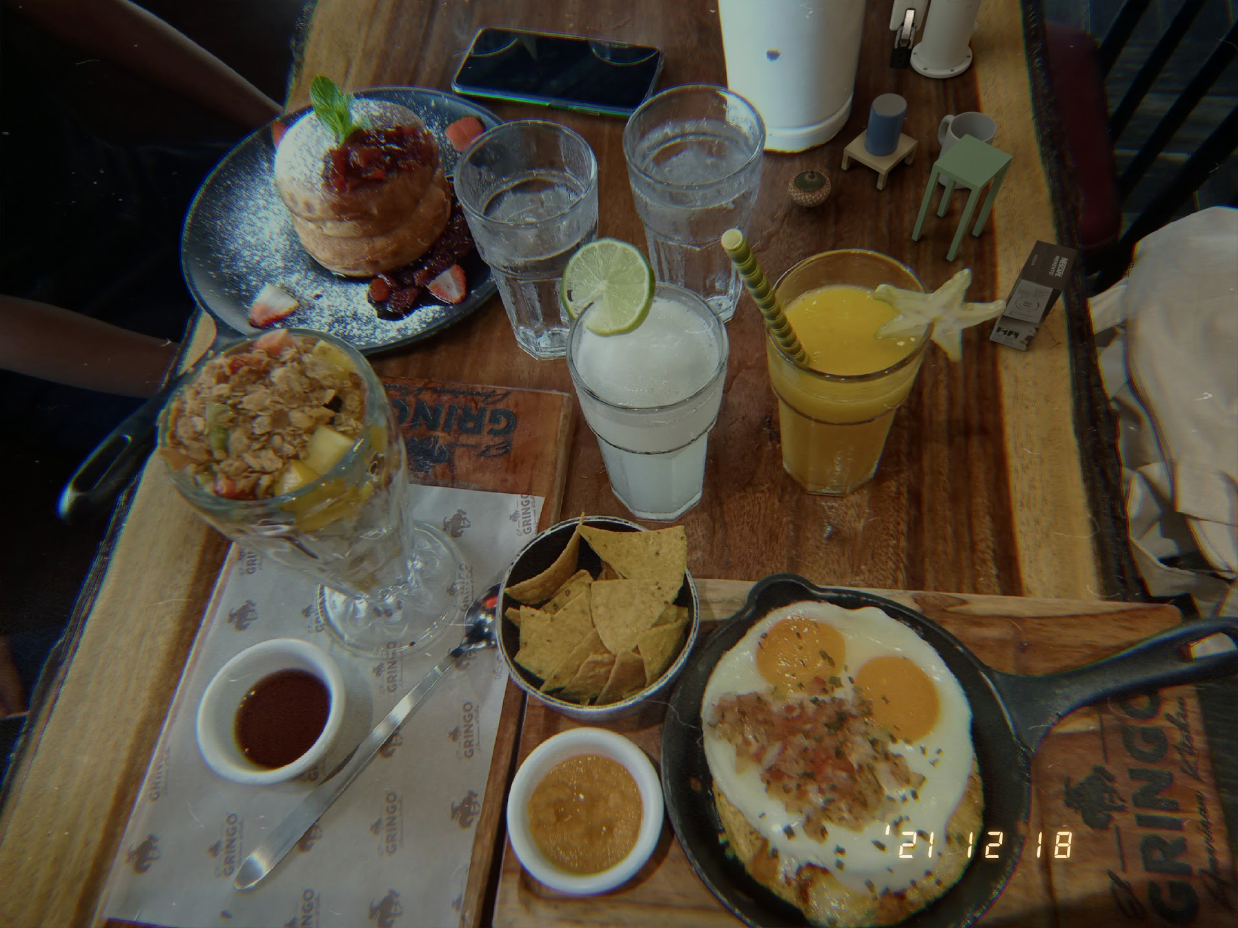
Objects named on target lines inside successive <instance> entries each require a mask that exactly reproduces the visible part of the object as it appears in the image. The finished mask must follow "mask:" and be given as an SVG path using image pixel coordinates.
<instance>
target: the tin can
mask: <svg viewBox="0 0 1238 928" xmlns="http://www.w3.org/2000/svg"><path fill="white" fill-rule="evenodd" d="M907 109H908V103H907V100H906V99H905V98H904V96H901V95H900V94H896V93H884V94H881V95H878V96H877V97H876V98H874V99H873V100H872V103H871V106H870V112H869V117H868V123H867V127H866V129H867V132H866V137H865V142H864V147H865V149H866V151H867V152H868V153H870V154H872V155H875V156H887V155H890V154H892V153H893V152H894V151H895V150H896V149H897V147H898V143H899V139H900V135H901V133H902V130H903V127H904V122H905V118H906V113H907Z"/></svg>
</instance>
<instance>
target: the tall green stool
mask: <svg viewBox="0 0 1238 928" xmlns="http://www.w3.org/2000/svg"><path fill="white" fill-rule="evenodd" d="M1013 158H1014V156H1013V155H1012V154H1009V153H1007V152H1005V151H1004V150H1001V149H999V148H997V147H996V146H993V145H989V144H987V143H985V142H983V141H981V140H979V139H977V138H975V137H973V136H970V135H968V134H966V135H964V136H963V137H962V138H961V139H960V140H959V141H958V142H957V143H956V144H955V145H954V146H952V147H951V148H950V149H949V150H948V151H947V152H946V153H945V154H944V155H943V156H942V157H940V158H939V157H938V159H937V160H936V161H935V162H934V163H933V164H932V168H931V172H930V175H929V179H928V181H927V184H926V185H927V186H926V189H925V192H924V196H923V199H922V202H921V204H920V208H919V211H918V215H917V218H916V222H915V224H914V229H913V231H912V235H911V240H913V241H915V242H918V240H920V238H921V236H922V233H923V230H924V226H925V223H926V221H927V218H928V215H929V212H930V208H931V205H932V202H933V198H934V196H935V191H936V190H937V186H938V183H939V181H938V180H939V177H940V174H943V175H945V176H947V177H949V179H948V182H947V185H946V186H945V188H944V190H943V195H942V198H941V200H940V204H939V205H938V206H939V207H938V210H937V212H936V215H937V216H939V217H940V218H943V217H944V216H945V215H946V214H947V212H948V208H949V206H950V203H951V201H952V197H953V195H954V194H953V193H954V191H955V189H954V188H955V185H956V183H957V182H958V183H960V184H962V185H964V186H966V187H967V189H970V190H971V192H970V194H969V197H968V200H967V202H966V205H965V208H964V210H963V213H962V215H961V219H960V221H959V223H958V226H957V229H956V230H955V231H956V232H955V233H954V237H953V239H952V242H951V245H950V248H949V250H948V254H947V256H946V258H945V259H947V261H949V262H953V261H954V260H955V259H956V258H957V256H958V253H959V250H960V248H961V245H962V243H963V240H964V237H965V235H966V232H967V229H968V227H969V225H970V223H971V220H972V217H973V216H974V215H973V214H974V212H975V210H976V206H977V204H978V203H979V199H980V196H981V194H982V191H983V189H984V188H985V187H986V186H988V184H989V183H990V182H992V183H991V185H990V188H989V191H988V193H987V196H986V198H985V200H984V203H983V205H982V207H981V210H980V213H979V215H978V218H977V220H976V222H975V225H974V228H973V230H972V233H971V235H972V236H975V237H979V236H980V235H981V234H982V233H983V230H984V227H985V225H986V223H987V220H988V218H989V216H990V213H991V211H992V209H993V206H994V203H995V201H996V199H997V196H998V195H999V192H1000V190H1001V186H1002V184H1003V182H1004V180H1005V177H1006V175H1007V172H1008V170H1009V168H1010V166H1011V163H1012V161H1013Z"/></svg>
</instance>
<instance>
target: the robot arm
mask: <svg viewBox="0 0 1238 928" xmlns="http://www.w3.org/2000/svg"><path fill="white" fill-rule="evenodd" d="M928 3H929V0H894V1H893V7H892V11H891V17H890V22H889V29H890V31H897V32H896V38H895V41H894V42H895V43H893V45H892V50H891V53H890V54H891V55H890V60H889V65H888V66H889V68H890V69H901V70H908V69H909V67H910V66H911V67H912V68H913V70H915V71H916V72H917V73H919V74H920V75H922V76H925V77H926V78H927V77H928V78H932V79H948V78H953V77H955V76H958V75H961V74H963V73H964V72H965V71H967V70H968V68H969V67H970V65H971V64H972V60H973V50H972V49H971V48H970V46H969V44H970V41H971V38H972V36H973V35H975V33H976V32H978V31H979V29H980V24H979V23H978V22H976V20H977V18H978V14H979V11H980V7H981V4H982V0H930V4H929V9H928V12H927V18H926V21H925V24H924V25H925V26H924V30H923V33H922V38H921V41H920V42H918V43H917V44H916V45H915V46H914V44H913V43H914V38H915V34H916V32H917V31H919V30H920V29H921V26H922V23H923V20H924V16H925V14H926V10H927V7H928Z"/></svg>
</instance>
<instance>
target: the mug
mask: <svg viewBox="0 0 1238 928" xmlns="http://www.w3.org/2000/svg"><path fill="white" fill-rule="evenodd" d="M947 126H948V127H947ZM997 130H998V126H997V123H996V121H995V120H994V119H993V118H992V117H991V116H990V115H987V114H986V113H983V112H978V111H967V112H962V113H960V114H958V115H953V114H947V115H945V116H944V117H943V118H942V120H941V122H940V124H939V127H938V131H937V142H938V143H939V145H940V146H941V150H940V152H939V156H938V159H939V158H940V157H942V156H943V155H944V154H945V153H946V152H947V151H948V150H949V149H950V148H951V147H952V146H954V145H955V144H956V143H957V142H958V141H959V140H960V139H961V138H962V137H963V136H964V135H966V134H968V135H970V136H973V137H975V138H977V139H979V140H981V141H983V142H985V143H987V144H989V145H991V146H993V143H994V141H995V138H996V134H997V132H998V131H997ZM948 179H949V177H947V176H945V175H943V174H940V177H939V180H938V183H940V184H941V185H942V186H943V187H946V185H947V182H948ZM962 189H968V187H966V186H964V185H962V184H960V183H958V182H957V183H956V185H955V188H954V190H962Z"/></svg>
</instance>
